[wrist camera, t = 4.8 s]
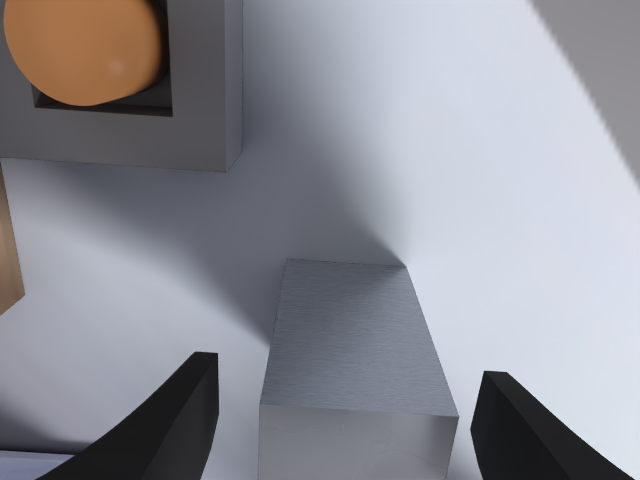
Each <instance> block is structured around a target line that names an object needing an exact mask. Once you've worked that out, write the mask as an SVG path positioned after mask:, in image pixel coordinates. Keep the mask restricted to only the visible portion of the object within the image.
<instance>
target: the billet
mask: <svg viewBox="0 0 640 480" xmlns="http://www.w3.org/2000/svg"><path fill="white" fill-rule="evenodd" d="M458 420H459V415H458V412H457V409H456V406H455V404H454V401H453V398H452V395H451V392H450V389H449V386H448V384H447V381H446V378H445V375H444V372H443V369H442V367H441V364H440V361H439V358H438V355H437V352H436V349H435V347H434V344H433V341H432V338H431V335H430V332H429V329H428V327H427V324H426V321H425V318H424V315H423V312H422V310H421V307H420V304H419V301H418V298H417V295H416V292H415V290H414V287H413V284H412V281H411V278H410V275H409V273H408V270H407V267H401V266H386V265H371V264H356V263H341V262H326V261H311V260H296V259H287V262H286V267H285V272H284V278H283V283H282V288H281V293H280V299H279V304H278V309H277V315H276V320H275V325H274V331H273V336H272V341H271V347H270V352H269V357H268V362H267V368H266V373H265V378H264V384H263V389H262V394H261V400H260V410H259V453H258V480H445V478H446V474H447V469H448V465H449V460H450V456H451V451H452V447H453V442H454V438H455V433H456V429H457V424H458Z"/></svg>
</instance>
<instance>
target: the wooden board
mask: <svg viewBox="0 0 640 480" xmlns="http://www.w3.org/2000/svg"><path fill="white" fill-rule="evenodd" d="M24 295H25V292H24V287H23V282H22V276H21V271H20V266H19V260H18V255H17V250H16V244H15V239H14V234H13V228H12V223H11V218H10V212H9V207H8V202H7V196H6V191H5V186H4V180H3V175H2V170H1V164H0V315H2V314H3V313H4V312H5V311H6V310H8V309H9V308H10V307H11V306H12V305H14V304H15V303H16V302H17V301H18V300H20V299H21V298H22V297H23V296H24Z"/></svg>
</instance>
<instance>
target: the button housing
mask: <svg viewBox="0 0 640 480" xmlns="http://www.w3.org/2000/svg"><path fill="white" fill-rule="evenodd" d="M155 1H156V2H157V3H158V4H159V6H160V7H161V9H162V11H163V12H164V14H165V17H166V19H167V21H168V28H169V48H170V62H169V65H168V68H167V70H166V72H165V73H164V75H163V77H162V78H161V79H160V80H159V81H158V82H157V83H156V84H155V85H154V86H153V87H151V88H150V89H148V90H146V91H144V92H141V93H138V94H134V95H131V96H127V97H123V98H119V99H116V100H112V101H108V102H104V103H101V104H97V105H91V106H77V105H70V104H66V103H63V102H60V101H58V100H55V99H53V98H51V97H49V96H48V95H46V94H45V93H43V92H42V91H40V90H39V89H38V88H36V87H35V86H34V85H33V84H32V83H31V82H30V81H29V80H28V79H27V78H26V77H25V76H24V74H23V73H22V72H21V70H20V69H19V68H18V66H17V64H16V63H15V61H14V59H13V57H12V55H11V53H10V50H9V47H8V44H7V41H6V37H5V32H4V9H5V3H6V0H0V157H5V158H20V159H35V160H50V161H64V162H79V163H94V164H109V165H124V166H139V167H154V168H169V169H183V170H198V171H213V172H227V171H228V169H229V168H230V167H231V165H232V164H233V163H234V162H235V160H236V159H237V158H238V157H239V155H240V154H241V153H242V54H243V0H155Z"/></svg>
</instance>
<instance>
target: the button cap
mask: <svg viewBox="0 0 640 480" xmlns="http://www.w3.org/2000/svg"><path fill="white" fill-rule="evenodd" d="M4 32H5V37H6V41H7V44H8V47H9V50H10V53H11V55H12V57H13V59H14V61H15V63H16V64H17V66H18V68H19V69H20V70H21V72H22V73H23V74H24V76H25V77H26V78H27V79H28V80H29V81H30V82H31V83H32V84H33V85H34V86H35V87H36V88H38V89H39V90H40V91H42V92H43V93H45V94H46V95H48V96H49V97H51V98H53V99H55V100H58V101H60V102H63V103H66V104H70V105H77V106H91V105H97V104H101V103H104V102H108V101H112V100H116V99H119V98H123V97H127V96H131V95H134V94H138V93H141V92H144V91H146V90H148V89H150V88H151V87H153V86H154V85H155V84H156V83H157V82H158V81H159V80H160V79H161V78H162V77H163V75H164V73H165V72H166V70H167V68H168V65H169V62H170V48H169V28H168V21H167V19H166V17H165V14H164V12H163V11H162V9H161V7H160V6H159V4H158V3H157V2H156V1H155V0H6V3H5V9H4Z"/></svg>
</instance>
